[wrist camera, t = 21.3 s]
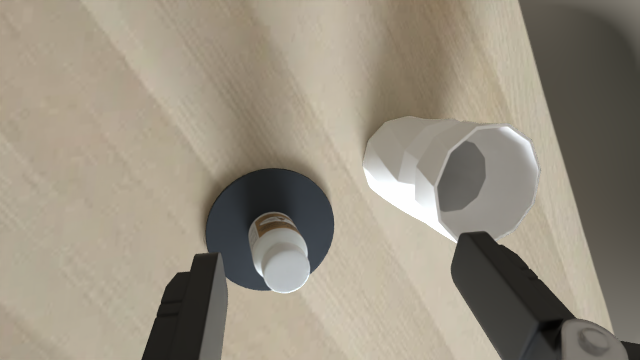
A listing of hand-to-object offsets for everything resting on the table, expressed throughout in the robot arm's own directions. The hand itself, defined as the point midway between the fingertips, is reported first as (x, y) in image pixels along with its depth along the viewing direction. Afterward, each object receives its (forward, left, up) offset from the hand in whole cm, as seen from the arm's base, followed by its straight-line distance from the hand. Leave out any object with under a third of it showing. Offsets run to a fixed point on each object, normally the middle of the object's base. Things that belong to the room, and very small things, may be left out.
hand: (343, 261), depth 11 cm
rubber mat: (-1, -7, -20) cm, 21 cm away
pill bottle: (-1, -7, -20) cm, 21 cm away
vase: (+13, -3, -21) cm, 25 cm away
